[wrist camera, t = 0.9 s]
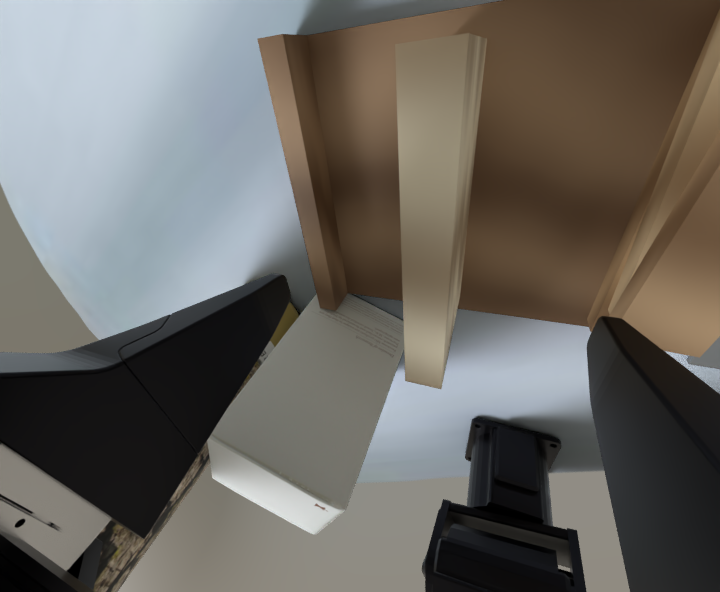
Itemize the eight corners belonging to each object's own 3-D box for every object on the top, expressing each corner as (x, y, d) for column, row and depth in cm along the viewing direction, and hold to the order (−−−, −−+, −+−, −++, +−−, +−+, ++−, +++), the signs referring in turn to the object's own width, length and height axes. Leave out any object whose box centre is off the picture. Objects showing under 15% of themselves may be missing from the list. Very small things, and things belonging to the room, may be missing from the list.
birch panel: (459, 295, 19) (441, 389, 14) (433, 292, 19) (405, 380, 14) (487, 38, 12) (468, 32, 7) (443, 45, 12) (395, 44, 7)
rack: (673, 329, 16) (697, 369, 14) (337, 284, 23) (320, 308, 21) (940, -74, 8) (1086, -116, 6) (292, 40, 15) (257, 38, 13)
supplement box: (325, 278, 23) (201, 433, 14) (415, 324, 23) (349, 517, 13) (307, 336, 28) (207, 479, 19) (380, 375, 28) (315, 541, 18)
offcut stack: (677, 331, 15) (705, 378, 13) (580, 318, 17) (591, 358, 15) (934, -50, 8) (1099, -88, 6) (717, -16, 9) (782, -35, 7)
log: (291, 281, 24) (-352, 971, 6) (314, 344, 28) (-43, 888, 10) (226, 278, 27) (-355, 754, 9) (255, 336, 31) (-111, 753, 13)
